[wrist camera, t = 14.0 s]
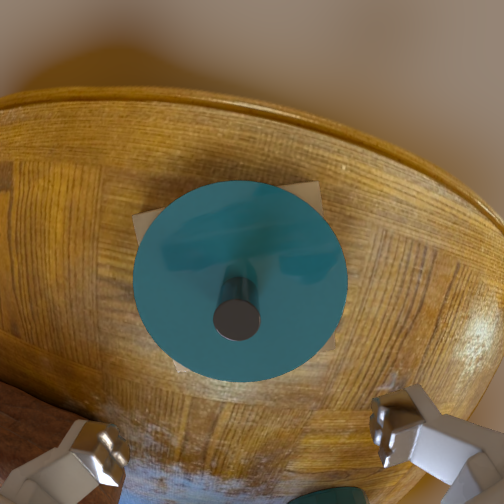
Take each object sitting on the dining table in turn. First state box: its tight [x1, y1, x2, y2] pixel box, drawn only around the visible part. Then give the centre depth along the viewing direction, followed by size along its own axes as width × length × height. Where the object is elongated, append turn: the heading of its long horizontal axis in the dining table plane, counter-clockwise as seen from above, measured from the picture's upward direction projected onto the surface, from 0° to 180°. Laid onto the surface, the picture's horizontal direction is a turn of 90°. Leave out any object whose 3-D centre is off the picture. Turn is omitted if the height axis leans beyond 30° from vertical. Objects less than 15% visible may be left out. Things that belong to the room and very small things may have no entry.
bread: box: [0, 381, 126, 504], centre depth 19 cm, size 14×28×12 cm, turn 84°
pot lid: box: [133, 180, 348, 382], centre depth 17 cm, size 14×14×5 cm
